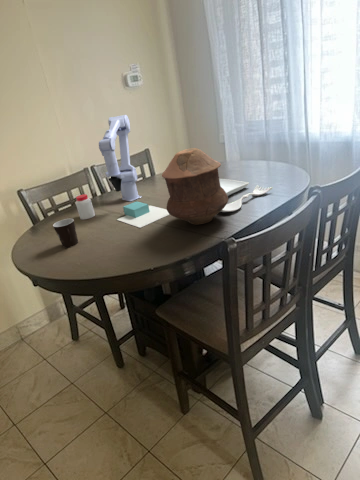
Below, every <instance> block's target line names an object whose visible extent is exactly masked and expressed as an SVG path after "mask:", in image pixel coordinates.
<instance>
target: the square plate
mask: <svg viewBox="0 0 360 480" xmlns="http://www.w3.org/2000/svg"><path fill="white" fill-rule="evenodd" d="M219 181H220V186H221V187H222V188H223V189H224V191H225V192H226V194H227V196H228V197H229V196H230V195H233V194H235V193H237V192H239V191H241V190H243V189H245V188H246V187H248V186H249V184H250V182H249V181H241V180H235V179H228V178H219Z"/></svg>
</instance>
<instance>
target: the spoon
mask: <svg viewBox="0 0 360 480" xmlns="http://www.w3.org/2000/svg"><path fill="white" fill-rule="evenodd" d="M271 190H273V186H271V187H270V186H269V187H263V186H259V184H257V185H256V186H255V187H254V189H253V190H252V192H249V193H246V194H243V195H242V196H241V197H240V198H238V199H237V200H234V201H233V202H229V203H227V204H226V206H225V207H224V208H223V209H222V210H221V211H220V212H222V213H231V212H236V211H237V210H239V209H240V208H241V207H242V205H243V200H244V199H247V198H249V197H250V196H255V197H256V196H258V197H259V196H262V195H264V194H266V193H268V192H270V191H271Z"/></svg>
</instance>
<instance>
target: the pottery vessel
mask: <svg viewBox="0 0 360 480" xmlns="http://www.w3.org/2000/svg"><path fill="white" fill-rule="evenodd" d="M221 165H222V163H221V162H219V161H217V160H215V159H213V158H212V157H211V156H210V155H208V154H207V153H205V152H204V151H202V149H199V148H198V147H190V148H186V149H182V150H180V151H178V152H176V153H175V154H174V155H173V157H172V159H171V161H170V162H169V163H168V165H167V167H165V169H164V171H163V172H162V174H161V177H162V178H163V179H164V180H165V184H166V187H167V191H168V195H169V198H168V200H167V202H166V209H167V211H168V213H169V214H170V215H169V216H172V217H173V218H176V219H179V220H182V221H185V222H187V223H188V222H189V223H190V224H192V225H203V224H207V223H209V222H211V221H213V218H214V217H215V216H217V215H218V214H219V213H220V212H221V210H222V209H223V208H224V207H225V206H226V204H228V202H229V196H227V194H226V192H225V191H224V189H223V188H222V187H221V186H220V181H219V179H220V176H219V168H220V167H221Z"/></svg>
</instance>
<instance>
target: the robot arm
mask: <svg viewBox="0 0 360 480" xmlns="http://www.w3.org/2000/svg"><path fill="white" fill-rule="evenodd" d="M130 122H131V121H130V119H129V117H128V115H127V114H122V115H117V116H109V117H108V120H107V123H108V129H106V130H105V132H104V135H103V137H102V139H100V140H99V141H98V149H99V151H100V152H101V155H102V157H103V159H104V163H105V167H106V171H105V177H107V178H108V181H109V182H110V183H111V185H112V186H113V188H114V190H115V192H121V195H122V198H121V200H122V201H126V202H134V201H135V200H136V201H137V200H138V199H140V198H142V197H143V195H139V193H138V187H137V184H136V182H137V181H138V174H137V168H136V167H135V166H134V165H132V164H131V156H130V145H129V133H130V132H131V124H130ZM117 137H118V143H119V155H120V166H119V163H118V159H117V155H116V139H117ZM109 177H110V178H109Z"/></svg>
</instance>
